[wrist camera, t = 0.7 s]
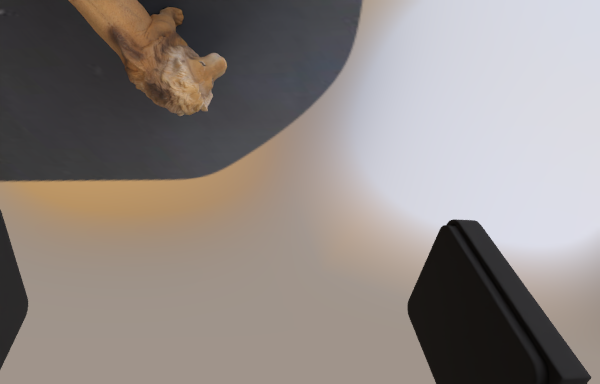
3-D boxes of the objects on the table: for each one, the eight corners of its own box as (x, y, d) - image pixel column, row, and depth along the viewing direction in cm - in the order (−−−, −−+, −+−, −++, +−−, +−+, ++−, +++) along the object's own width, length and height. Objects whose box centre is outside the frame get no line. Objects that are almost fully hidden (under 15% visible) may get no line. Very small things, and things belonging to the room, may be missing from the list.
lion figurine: (238, 40, 32) (239, 88, 24) (191, 90, 33) (180, 148, 26) (44, -147, 24) (-37, -160, 17) (-4, -72, 26) (-95, -53, 19)
